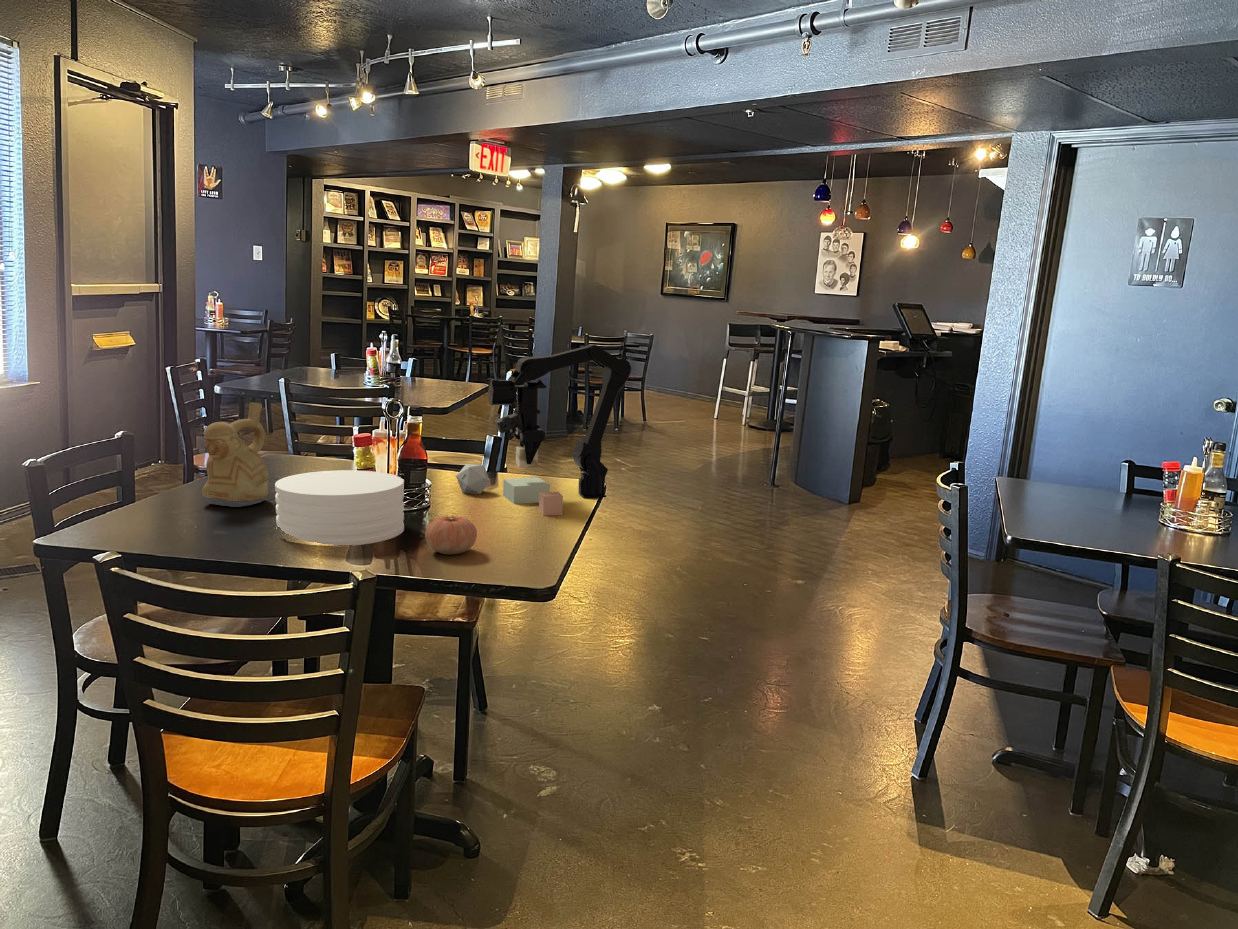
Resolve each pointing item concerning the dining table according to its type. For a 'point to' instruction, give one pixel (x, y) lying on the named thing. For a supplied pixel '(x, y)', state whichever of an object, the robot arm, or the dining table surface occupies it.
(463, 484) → the die
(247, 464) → the ceramic vessel
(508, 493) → the sage block
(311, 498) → the plate stack
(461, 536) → the pumpkin
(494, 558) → the dining table surface
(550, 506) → the terracotta cube
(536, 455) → the birch cube
